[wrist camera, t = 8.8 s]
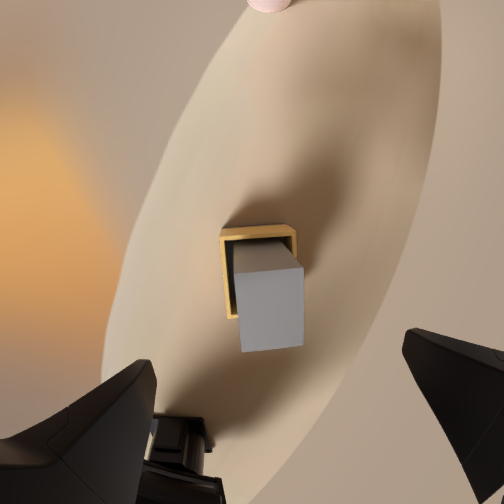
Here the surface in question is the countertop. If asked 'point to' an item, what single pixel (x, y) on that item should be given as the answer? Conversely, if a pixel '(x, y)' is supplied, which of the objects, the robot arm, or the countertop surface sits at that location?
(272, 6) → the smoothie
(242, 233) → the socket block
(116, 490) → the robot arm
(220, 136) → the countertop surface
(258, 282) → the plug
